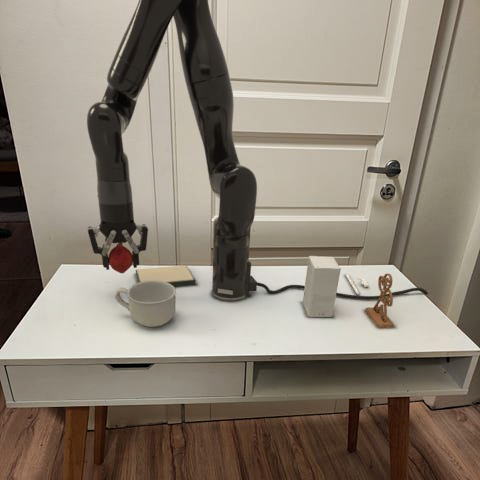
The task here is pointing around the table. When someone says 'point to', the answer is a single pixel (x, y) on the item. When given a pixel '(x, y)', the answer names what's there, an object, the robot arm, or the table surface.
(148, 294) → the teacup
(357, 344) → the table surface
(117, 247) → the pomegranate
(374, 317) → the brown openwork figurine
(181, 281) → the notebook
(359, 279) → the picture light
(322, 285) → the small box
